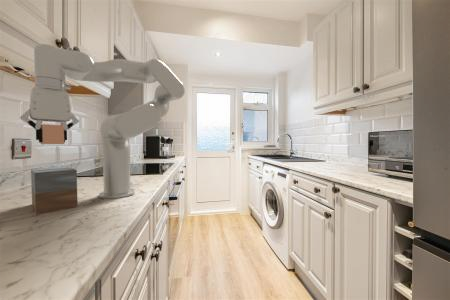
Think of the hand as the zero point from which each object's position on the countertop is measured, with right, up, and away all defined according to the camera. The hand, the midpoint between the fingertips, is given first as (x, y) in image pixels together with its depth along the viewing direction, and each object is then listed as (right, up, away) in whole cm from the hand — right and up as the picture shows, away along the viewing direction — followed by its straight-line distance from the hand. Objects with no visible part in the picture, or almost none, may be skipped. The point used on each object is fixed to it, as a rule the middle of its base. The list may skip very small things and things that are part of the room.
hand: (52, 141), depth 68 cm
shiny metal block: (0, -21, +1) cm, 21 cm away
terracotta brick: (0, -1, 0) cm, 1 cm away
